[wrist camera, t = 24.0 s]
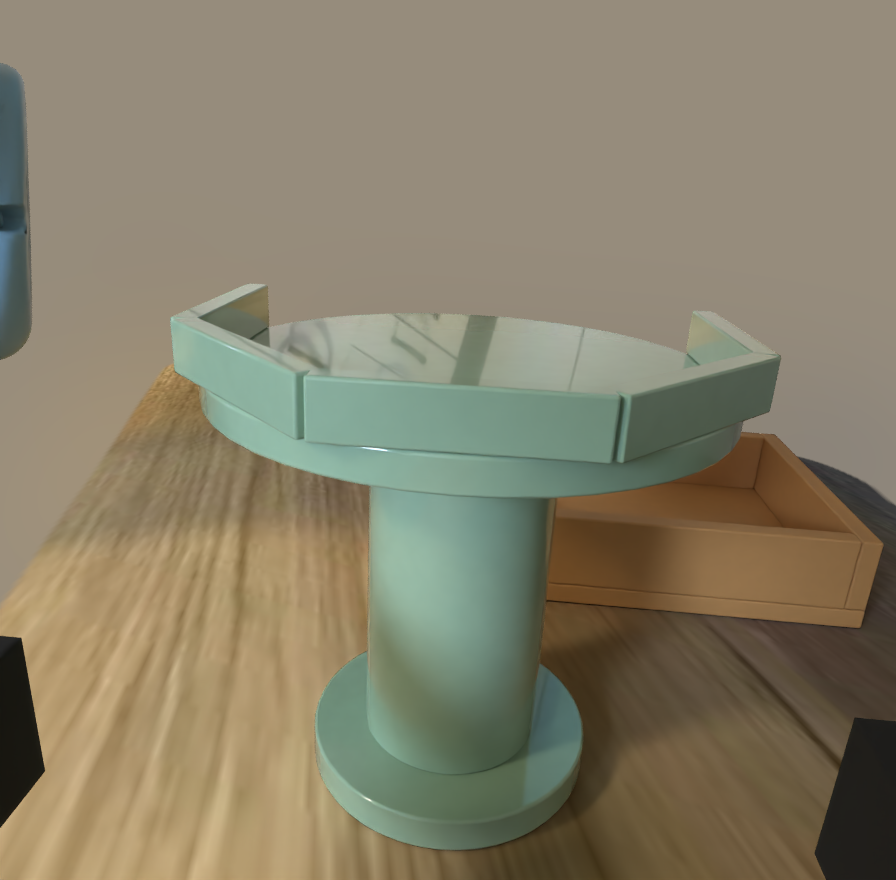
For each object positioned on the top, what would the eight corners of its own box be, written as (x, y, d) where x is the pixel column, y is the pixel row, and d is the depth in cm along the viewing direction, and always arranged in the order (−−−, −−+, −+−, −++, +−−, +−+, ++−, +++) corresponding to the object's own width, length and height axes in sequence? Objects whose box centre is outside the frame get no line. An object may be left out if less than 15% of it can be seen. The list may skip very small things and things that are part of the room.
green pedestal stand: (142, 919, 17) (69, 359, 12) (294, 604, 29) (285, 266, 24) (724, 979, 16) (872, 413, 12) (627, 631, 28) (681, 290, 24)
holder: (372, 585, 30) (374, 501, 29) (412, 470, 42) (415, 407, 41) (860, 629, 29) (885, 543, 28) (761, 498, 41) (775, 433, 40)
